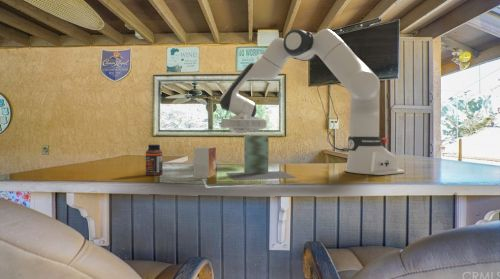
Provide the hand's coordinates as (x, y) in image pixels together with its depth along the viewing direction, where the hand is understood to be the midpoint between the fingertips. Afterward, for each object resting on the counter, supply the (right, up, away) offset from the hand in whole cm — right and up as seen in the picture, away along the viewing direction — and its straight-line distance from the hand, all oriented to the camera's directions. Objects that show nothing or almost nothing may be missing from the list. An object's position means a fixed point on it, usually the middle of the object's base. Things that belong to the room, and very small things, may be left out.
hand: (247, 123), depth 117 cm
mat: (+5, -20, -17) cm, 27 cm away
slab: (+3, -19, -12) cm, 23 cm away
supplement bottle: (-35, -20, -13) cm, 42 cm away
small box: (-15, -20, -18) cm, 31 cm away
